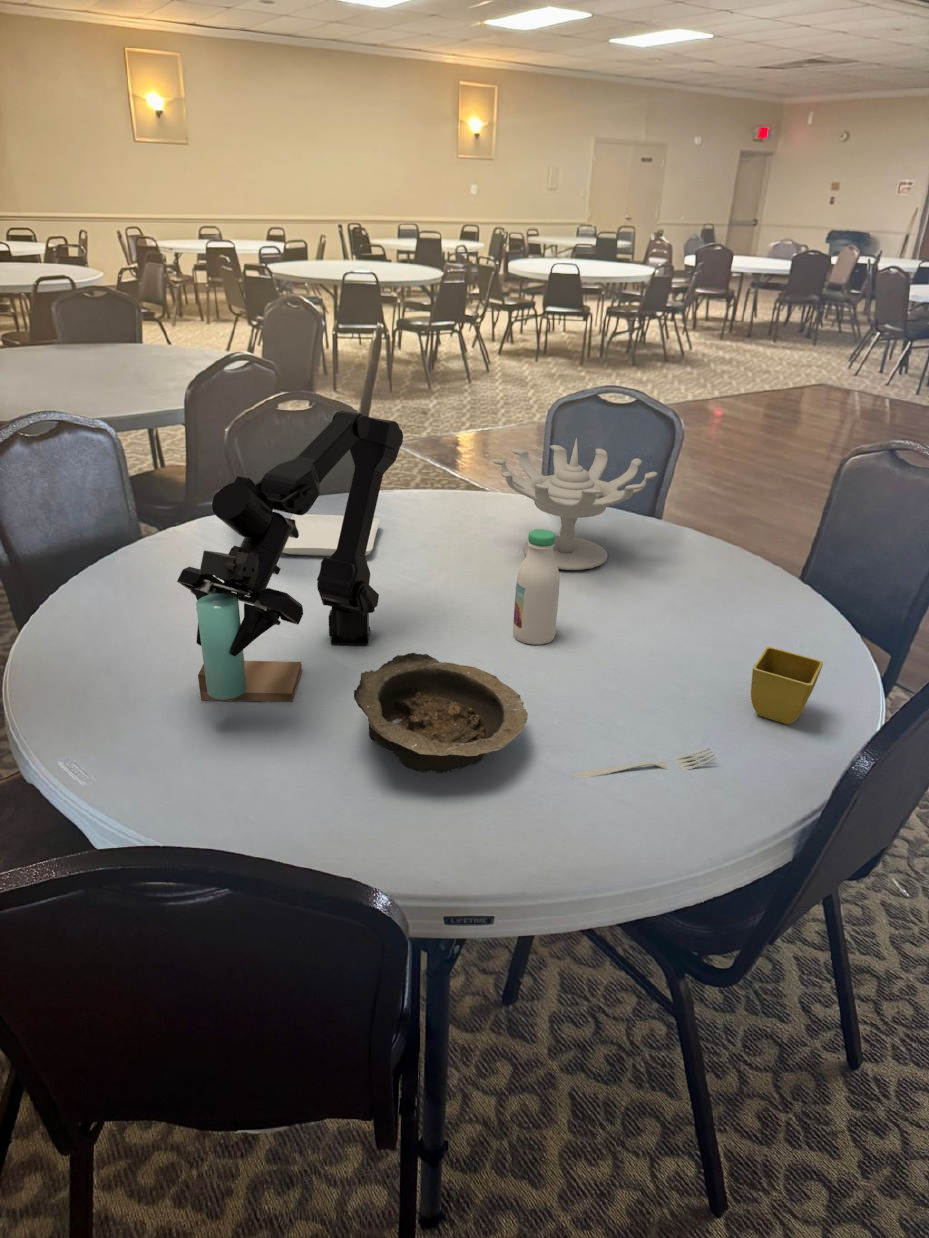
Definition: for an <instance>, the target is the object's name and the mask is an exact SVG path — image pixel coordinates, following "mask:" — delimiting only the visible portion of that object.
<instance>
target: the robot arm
mask: <svg viewBox="0 0 929 1238" xmlns="http://www.w3.org/2000/svg"><path fill="white" fill-rule="evenodd" d="M403 441H404V432H403V431H402V429H401V428H400V425H399V423H398V422H397V421H395V420H390V419H383V418H377V417H371V416H368V415H365V414H364V413H361V412H356V411H351V410H350V411H349V410H340V411H335V413H334V415H333V416H332V420H331V421H330V422H329V423H328V425H327V426H325V428H324V429H322V431H321V432H320V433H319V434H318V435H317V436H316V437H315V438H314V440H312V441H311V442H310V443H309V444H308V445H307V446H306V447H305V448H304V449H303V450H302V452H300V453H299V455H297V456H296V457H295V458H293V459H291V460H289V461H285V462H282V463H279V464H277V465H276V466H274V467H273V468H272V469H270V470H269V471H267V472H266V473H265V474H264V475H263V476H262V478H261V479H260V480H258V481H257V482H255V483H254V481H253V480H252V479H251V478H250V477H246V476H242V475H237V476H236V478H235V480H234V482H231V483H228V484H226V485H224V486H223V487H222V488H220V489H219V491H217V492H216V493H215V495H214V496H213V499H212V501H211V503H212V504H211V507H212V508H211V509H212V512H213V514H214V515H215V516H216V517H217V518H218V519H219V520H221V521H222V522H223V523H224V524H225V525H227V526H228V527H229V528H230V529H232V531H234V532H235V533H236V534H238V535H239V536H241V537H243V539H242V542H241V543H240V545H239V546H238V545H233V547H231V548H230V550H229V552H228V553H225V552H217V551H211V550H203V553H202V557H201V562H200V568H196V567H192V566H187V567H185V568H183V569H182V570H181V571H180V574H179V576H178V579H177V580H176V582H177V583H178V584H180V585H181V586H183V587H185V588H186V589H188V591H190V593H191V594H193V595H194V596H195V598H196V602H197V601H198V600H199V599H200V598H202V597H204V596H207V595H211V594H218V593H225V594H231V595H234V596H236V597H237V598H238V602H242V603H243V618H242V621H241V622H240V623H241V625H240V628H239V630H238V632H237V634H236V637H235V639H234V641H233V643H232V646H231V650H230V655H232V656H236V655H238V654H239V653H240V652H241V651H242V650H243V651H244V649H246V648H247V647H248V646H249V645H250V644H251V643H252V642H254V641H255V640H256V639H257V638H259V637H260V636H261V635H262V634H264V633H265V632H267V631H268V630H270V628H272V627H274V626H275V625H277V626H280V625H281V623H282V622H281V621H280V620H282V621H284V622H286V623H287V622H288V623H290V624H294V625H297V626H298V625H300V622H301V620H302V617H303V616H304V609H303V608H304V606H303V604H302V603H301V602H299V601H298V600H297V599H295V598H294V597H293V596H292V595H290V594H289V593H288V592H286V591H285V592H284V591H280V590H277V589H274V588H270V587H268V585H269V582H270V581H271V578H272V575H277V576H278V575H279V574H280V572H281V567H280V566H278V565H277V564H278V562H279V560H280V558H281V556H282V554H283V552H282V551H283V549H284V547H285V545H286V542H287V540H288V538H289V537H293V538H298V537H299V533H298V529H297V528H296V524H295V520H293V519H290V518H288V517H285V516H284V515H283V514H281V513H280V512H283V513H288V514H291V515H293V514H295V515H304V514H308V513H309V511H310V509H311V508H312V507H313V505H314V504H315V502H316V501H317V499H318V497H319V496H320V492H321V491H320V488H321V486H320V484H321V483H322V481H323V479H324V478H325V477H326V476H327V475H328V474H329V472H331V471H332V470H333V468H334V467H335V466H336V465H337V464H338V463H339V462H340V460H341V459H342V458H343V457H344V456H345V455H346V454H347V453H348V452H350V456H351V459H352V462H353V466H354V468H353V469H354V470H353V472H352V473H353V474H352V478H351V481H350V482H351V483H350V488H349V492H348V496H347V501H346V506H345V510H344V515H343V516H344V518H343V523H342V527H341V532H340V536H339V541H338V546H337V549H336V551H335V552H334V553H333V554H332V555H331V556H328V557H327V556H324V557H323V559H322V560H321V562H320V568H319V569H320V570H319V573H318V575H317V578H316V581H317V584H316V585H317V586H316V587H317V592H318V594H319V597H320V600H321V603H322V605H323V606H327V607H331V609H330V610H329V614H328V636H329V637H330V638H331V640H330V645H339V646H340V645H342V646H344V645H345V646H347V645H349V646H351V645H352V646H367V645H368V644H369V640H370V634H371V627H370V614H371V613H374V612H375V608H377V607H378V604H379V599H380V594H379V593H378V592H377V591H376V590H375V589H374V588H373V587H372V586H371V585H370V580H371V571H370V568H369V565H368V561H367V559H366V555H365V554H366V549H367V545H368V540H369V536H370V531H371V527H372V522H373V518H375V511H376V508H377V503H378V499H379V495H380V490H381V485H382V481H383V477H384V474H385V473H386V472H387V471H388V469H390V468H391V467H392V465H393V464H394V463H395V462H396V461H397V458H398V456H399V452H400V448H401V447H402V445H403ZM273 510H274V511H273ZM221 580H222V581H221ZM196 631H197V632H196V644H197V645H199V646H201V639H200V631H199V623H198V622H197V630H196Z"/></svg>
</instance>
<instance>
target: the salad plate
mask: <svg viewBox="0 0 929 1238" xmlns="http://www.w3.org/2000/svg"><path fill="white" fill-rule="evenodd" d="M343 518H344V515H338V514H335V515H334V514H314V513H313V514H312V513H311V514H309V513H305V514H304V515H295V514H291V517H290V518H289V519H293V520H295V524H296V528H297V529H298V533H299V537H298V538H293V537H289V538H288V540H287V542H286V545H285V547H284V549H283V551H282V554H288V555H298V556H315V557H316V556H317V557H319V556H320V557H330V556H331V555H332V554H333V553H334V552H335V551H336V549H337V546H338V541H339V536H340V532H341V527H342V523H343ZM381 523H382V520H381V518H380V517H374V518H373V522H372V527H371V531H370V536H369V540H368V545H367V549H366V554H365V556H367V555H370V554H371V552H372V551H373V549H374V545H375V540H376V535H377V532H378V530H379V527H380V525H381Z"/></svg>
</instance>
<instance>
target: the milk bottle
mask: <svg viewBox="0 0 929 1238" xmlns="http://www.w3.org/2000/svg"><path fill="white" fill-rule="evenodd" d="M555 536H556V534H555V532H553V531H551V530H549V529H548V530H547V529H538V528H537V529H533V530H531V531H529V532H528V538H527V539H528V542H527V543H528V545H529V550H528V553H527V555H525V557H524V559H523V560H522V563H521V564H520V567H519V569H518V571H517V576H516V583H515V596H514V607H513V608H514V609H513V624H512V634H513V637H514V638H515V639H516V640H517V641H519V642H521V643H523V644H527V645H534V646H535V645H536V646H537V645H539V646H540V645H546V644H548V643H551V642H552V641H553V640H554V638H555V636H556V628H557V627H556V626H557V617H558V609H559V607H558V606H559V597H560V584H561V583H560V582H561V581H560V579H561V578H560V571H559V569H558V567H557V564H556V562H555V559H554V555H553V547H554V546H555V545H554V543H555Z"/></svg>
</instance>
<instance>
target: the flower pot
mask: <svg viewBox="0 0 929 1238" xmlns="http://www.w3.org/2000/svg"><path fill="white" fill-rule="evenodd" d="M823 666H824V663H823V661H821V660H819V659H817V658H812V657H810V656H804V655H801V654H798V653H794V652H790V651H786V650H783V649H779V648H775V647H772V646H766V647H765V648H764V650H763V652H762V654H761V655H760V657H759V659H758V660H757V661H756V663H755V664H753V668H752V672H751V673H752V674H751V684H750V700H751V703H752V707H753V710H754V711H755V713H756V714H757V716H759V717H762V718H765V719H769V720H771V721H775V722H778V723H782V724H785V725H788V726H789V725H791V724H793V723H794V722H795V721H796V720H797V719H798V718H799V717H800V715H801V714H802V713H803V711H804V708H805V706H806V704H807V703H808V702H807V701H808V700H809V698H810V696H811V694H812V693H813V691H814V688H815V686H816V684H817V680H818V678H819V675H820V673H821V671H822V668H823Z"/></svg>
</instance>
